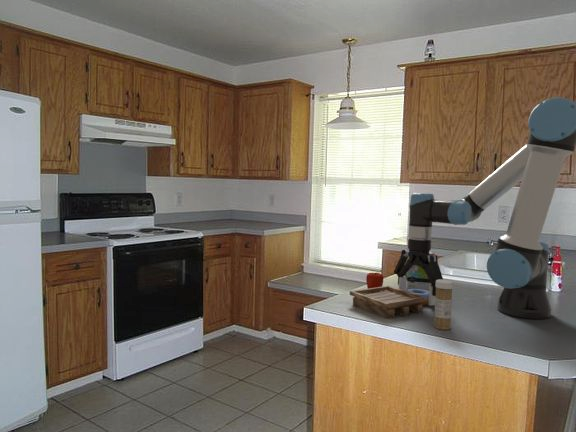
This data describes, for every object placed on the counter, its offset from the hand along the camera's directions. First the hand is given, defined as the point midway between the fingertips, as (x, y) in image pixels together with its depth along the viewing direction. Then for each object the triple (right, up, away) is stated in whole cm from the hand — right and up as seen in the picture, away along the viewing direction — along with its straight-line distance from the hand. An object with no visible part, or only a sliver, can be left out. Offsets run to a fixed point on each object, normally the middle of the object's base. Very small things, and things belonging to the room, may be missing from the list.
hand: (416, 299), depth 151 cm
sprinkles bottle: (-1, -3, -27) cm, 28 cm away
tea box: (+7, +1, +21) cm, 23 cm away
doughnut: (+1, -1, 0) cm, 1 cm away
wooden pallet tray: (-12, -1, -9) cm, 16 cm away
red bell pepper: (-12, 0, +11) cm, 16 cm away
